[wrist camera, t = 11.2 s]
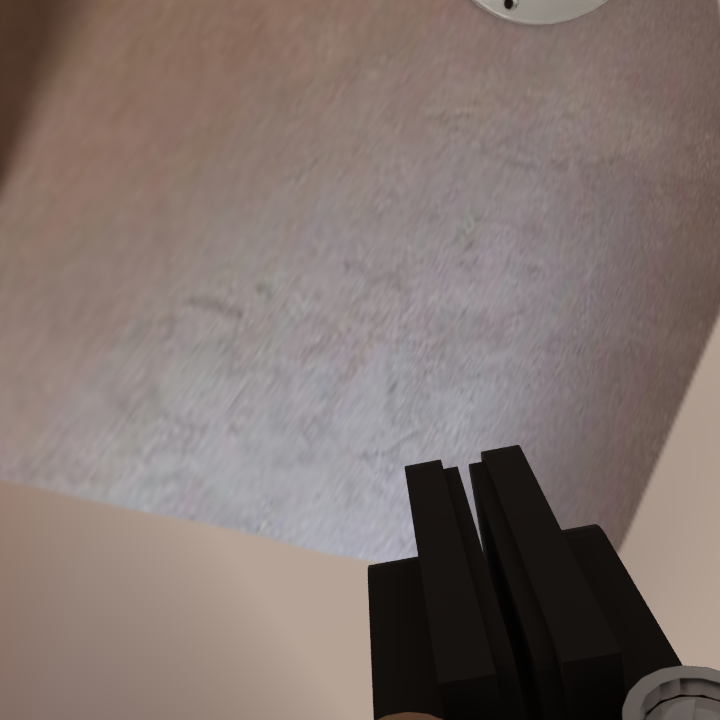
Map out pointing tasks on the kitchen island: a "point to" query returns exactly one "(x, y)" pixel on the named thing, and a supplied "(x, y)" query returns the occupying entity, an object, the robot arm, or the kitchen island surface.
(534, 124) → the kitchen island surface
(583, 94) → the kitchen island surface
